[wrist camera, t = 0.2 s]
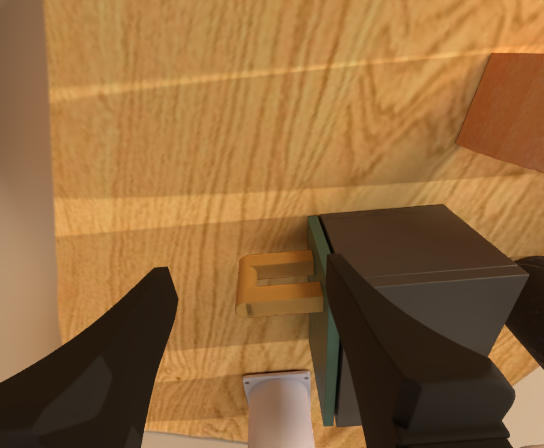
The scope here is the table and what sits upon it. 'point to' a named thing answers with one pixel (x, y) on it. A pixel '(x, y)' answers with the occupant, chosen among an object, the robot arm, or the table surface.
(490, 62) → the arch
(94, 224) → the table surface
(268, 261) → the cubby door
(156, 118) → the table surface
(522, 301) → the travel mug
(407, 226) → the cubby
